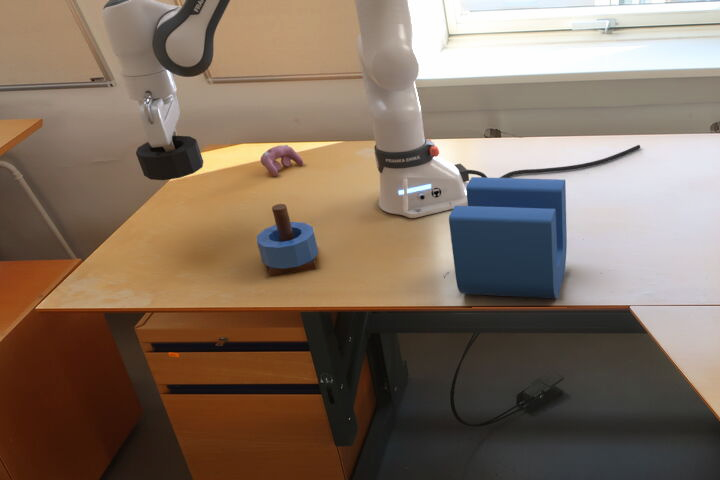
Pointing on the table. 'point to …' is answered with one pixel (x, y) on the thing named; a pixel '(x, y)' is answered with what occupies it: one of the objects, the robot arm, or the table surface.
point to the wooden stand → (286, 239)
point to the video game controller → (279, 152)
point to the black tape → (170, 159)
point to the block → (510, 237)
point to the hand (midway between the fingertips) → (174, 153)
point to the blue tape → (287, 246)
